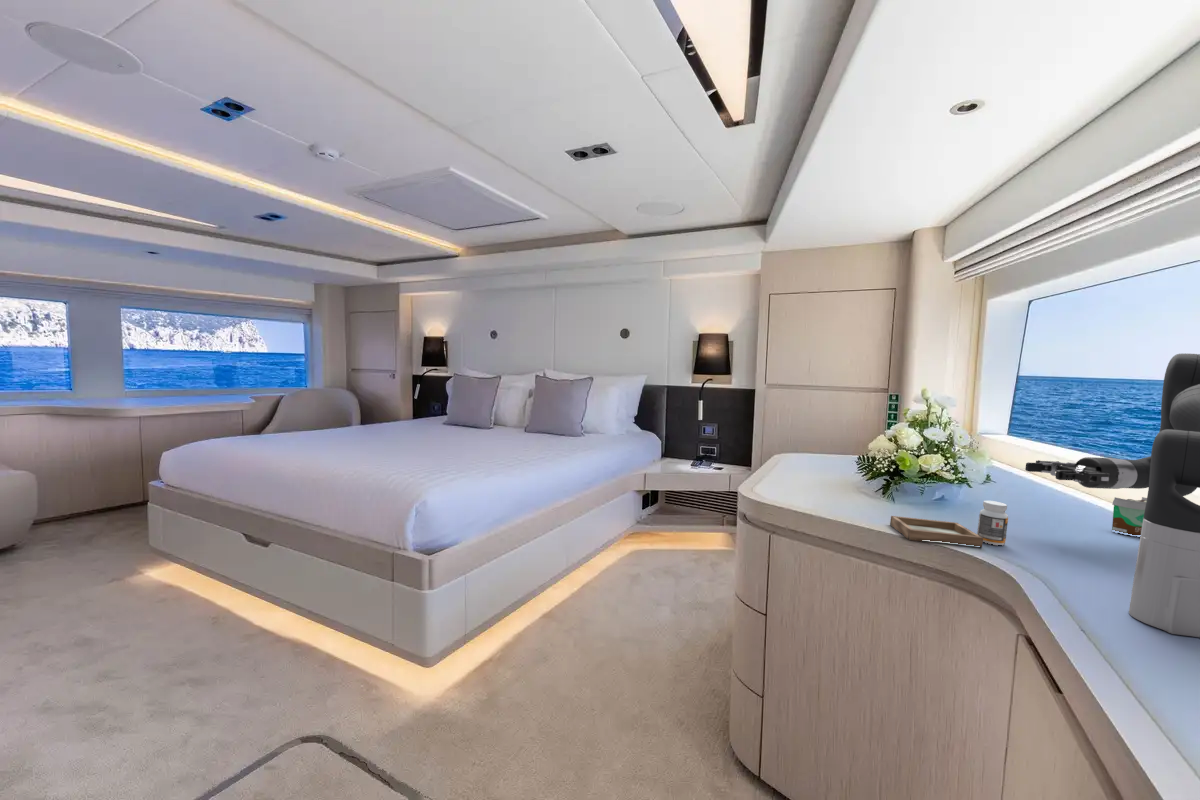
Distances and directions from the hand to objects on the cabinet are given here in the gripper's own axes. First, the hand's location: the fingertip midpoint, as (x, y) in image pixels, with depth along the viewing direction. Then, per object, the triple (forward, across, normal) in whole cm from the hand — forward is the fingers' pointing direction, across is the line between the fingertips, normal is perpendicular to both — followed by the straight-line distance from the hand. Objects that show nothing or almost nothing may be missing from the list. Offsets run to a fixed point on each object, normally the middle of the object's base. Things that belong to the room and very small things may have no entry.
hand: (1041, 470), depth 128 cm
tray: (+24, -2, +18) cm, 30 cm away
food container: (-42, -13, +20) cm, 48 cm away
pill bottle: (+11, 0, +18) cm, 22 cm away
